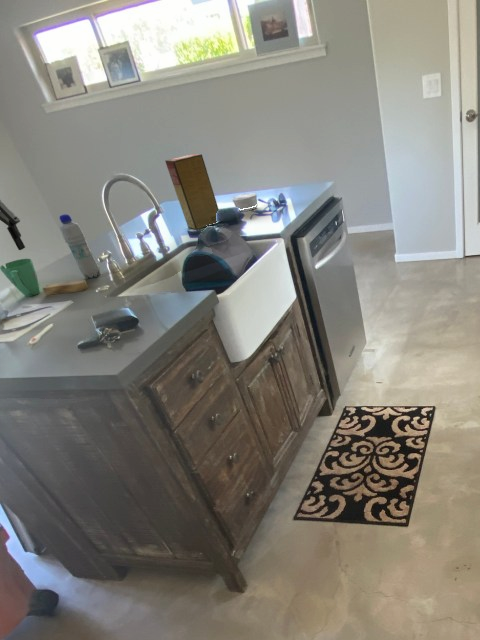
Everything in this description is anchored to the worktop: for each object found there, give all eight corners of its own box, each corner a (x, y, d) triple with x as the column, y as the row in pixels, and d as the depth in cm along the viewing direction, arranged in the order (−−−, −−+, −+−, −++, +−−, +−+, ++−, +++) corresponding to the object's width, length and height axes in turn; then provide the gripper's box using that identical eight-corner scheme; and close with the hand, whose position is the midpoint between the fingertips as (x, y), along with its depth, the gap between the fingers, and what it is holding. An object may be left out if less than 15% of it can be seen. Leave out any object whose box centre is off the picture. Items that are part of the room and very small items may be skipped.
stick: (46, 295, 176) (42, 288, 174) (50, 292, 178) (46, 285, 176) (84, 290, 174) (81, 283, 173) (88, 287, 177) (85, 280, 175)
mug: (19, 293, 181) (1, 263, 175) (48, 286, 183) (32, 256, 177) (14, 305, 171) (-5, 274, 164) (45, 298, 173) (27, 267, 166)
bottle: (99, 277, 184) (70, 215, 170) (81, 280, 184) (50, 218, 170) (104, 271, 189) (76, 210, 175) (86, 275, 189) (56, 213, 175)
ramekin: (237, 214, 235) (233, 200, 232) (234, 209, 243) (230, 196, 240) (261, 208, 237) (257, 195, 233) (257, 204, 245) (254, 192, 241)
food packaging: (213, 219, 232) (193, 153, 216) (223, 221, 227) (203, 153, 210) (186, 227, 227) (163, 160, 210) (196, 230, 221) (173, 160, 204)
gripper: (5, 167, 155) (44, 243, 170) (-71, 177, 157) (-26, 252, 172) (-9, 171, 150) (32, 250, 164) (-88, 182, 152) (-40, 259, 166)
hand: (2, 251), depth 168 cm, fingers open, 13 cm apart
